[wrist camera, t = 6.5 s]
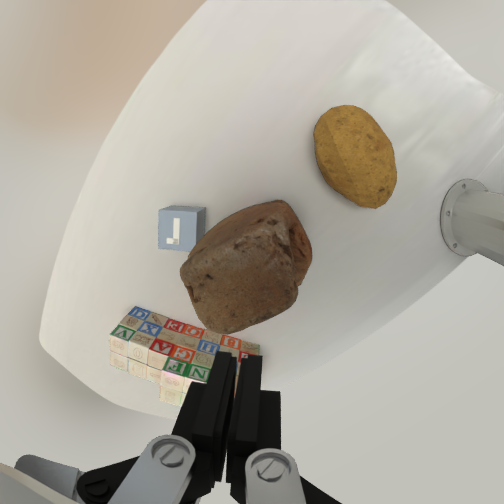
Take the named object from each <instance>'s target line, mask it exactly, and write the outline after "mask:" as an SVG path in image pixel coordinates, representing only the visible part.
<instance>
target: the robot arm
mask: <svg viewBox="0 0 504 504" xmlns="http://www.w3.org/2000/svg"><path fill="white" fill-rule="evenodd" d="M441 229H442V234H443V237H444V240H445V242H446V244H447V245H448V247H449V248H450V249H451V250H452V251H453V252H455V253H457V254H459V255H461V256H472V255H474V254H476V253H479V254H481V255H483V256H485V257H487V258H489V259H491V260H493V261H495V262H497V263H499V264H501V265H503V266H504V195H503V194H498V193H492V192H488V190H487V189H486V187H485V186H484V185H483V184H481V183H480V182H478V181H476V180H471V179H465V180H461V181H459V182H457V183H456V184H455V185H454V186H453V187H452V188H451V189H450V190H449V192H448V193H447V195H446V197H445V200H444V203H443V206H442V211H441ZM262 357H263V356H260V355H250V354H248V357H247V358H241V364H240V369H239V375H238V381H237V387H236V393H235V383H236V367H237V357H233V356H232V352H224V351H217V352H216V355H215V358H214V361H213V364H212V367H211V371H210V374H209V377H208V380H207V384H206V383H200V382H194V381H192V382H191V384H190V386H189V388H188V391H187V394H186V396H185V399H184V402H183V404H182V407H181V410H180V412H179V415H178V418H177V420H176V423H175V426H174V428H173V431H172V434H171V435H163V436H159V437H156V438H155V439H153V440H152V441H151V442H150V443H149V444H148V445H147V447H146V448H145V450H144V451H143V452H142V454H141V455H140V456H138V457H135V458H131V459H128V460H125V461H122V462H119V463H116V464H112V465H109V466H105V467H102V468H98V469H94V470H91V471H88V472H82V471H80V470H79V469H78V468H74V467H70V466H67V465H63V464H59V463H56V462H53V461H50V460H46V459H43V458H40V457H37V456H34V455H24V456H22V457H20V458H19V459H18V461H17V462H16V465H15V467H14V468H12V467H10V466H7V465H4V464H2V463H0V504H199V502H200V499H201V497H202V496H204V495H206V494H208V493H210V492H211V488H214V485H215V481H219V482H221V480H222V473H223V468H224V463H225V457H226V452H227V465H226V483H231V490H230V491H231V492H230V495H231V496H232V497H233V498H234V499H235V500H236V501H237V502H238V503H239V504H342V503H340V502H338V501H337V500H335V499H334V498H332V497H330V496H329V495H327V494H326V493H324V492H323V491H321V490H320V489H318V488H317V487H315V486H314V485H313V484H311V483H310V482H308V481H307V480H305V479H304V478H303V477H301V476H300V475H299V472H298V468H297V464H296V462H295V460H294V459H293V458H292V457H291V456H290V455H289V454H288V453H286V452H284V451H282V450H281V397H280V391H266V390H260V387H261V373H262Z"/></svg>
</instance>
